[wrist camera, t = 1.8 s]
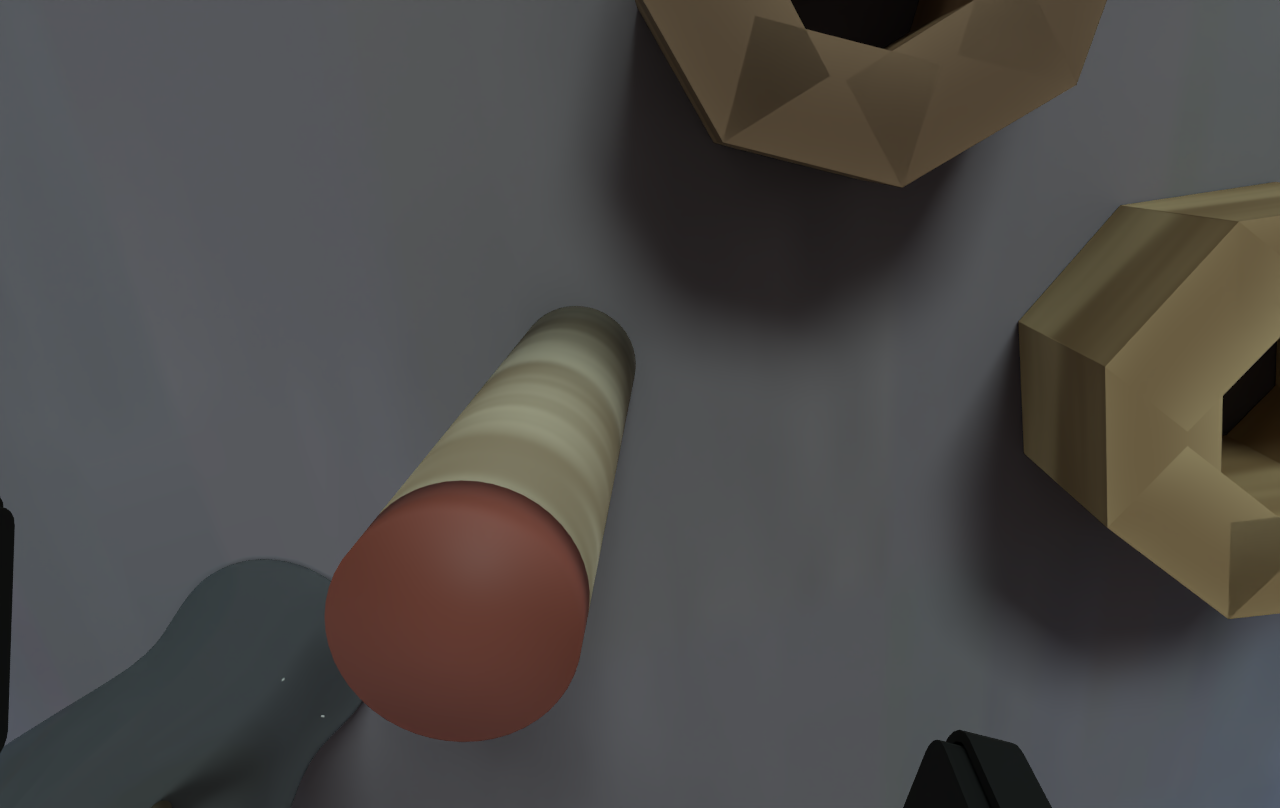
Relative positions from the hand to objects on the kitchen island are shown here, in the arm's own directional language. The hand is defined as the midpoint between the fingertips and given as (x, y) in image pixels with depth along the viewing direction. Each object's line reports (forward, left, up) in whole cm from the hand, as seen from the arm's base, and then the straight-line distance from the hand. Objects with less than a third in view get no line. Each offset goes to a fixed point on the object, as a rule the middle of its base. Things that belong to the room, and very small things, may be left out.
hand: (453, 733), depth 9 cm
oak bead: (+4, -15, -16) cm, 23 cm away
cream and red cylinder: (0, +1, -16) cm, 16 cm away
